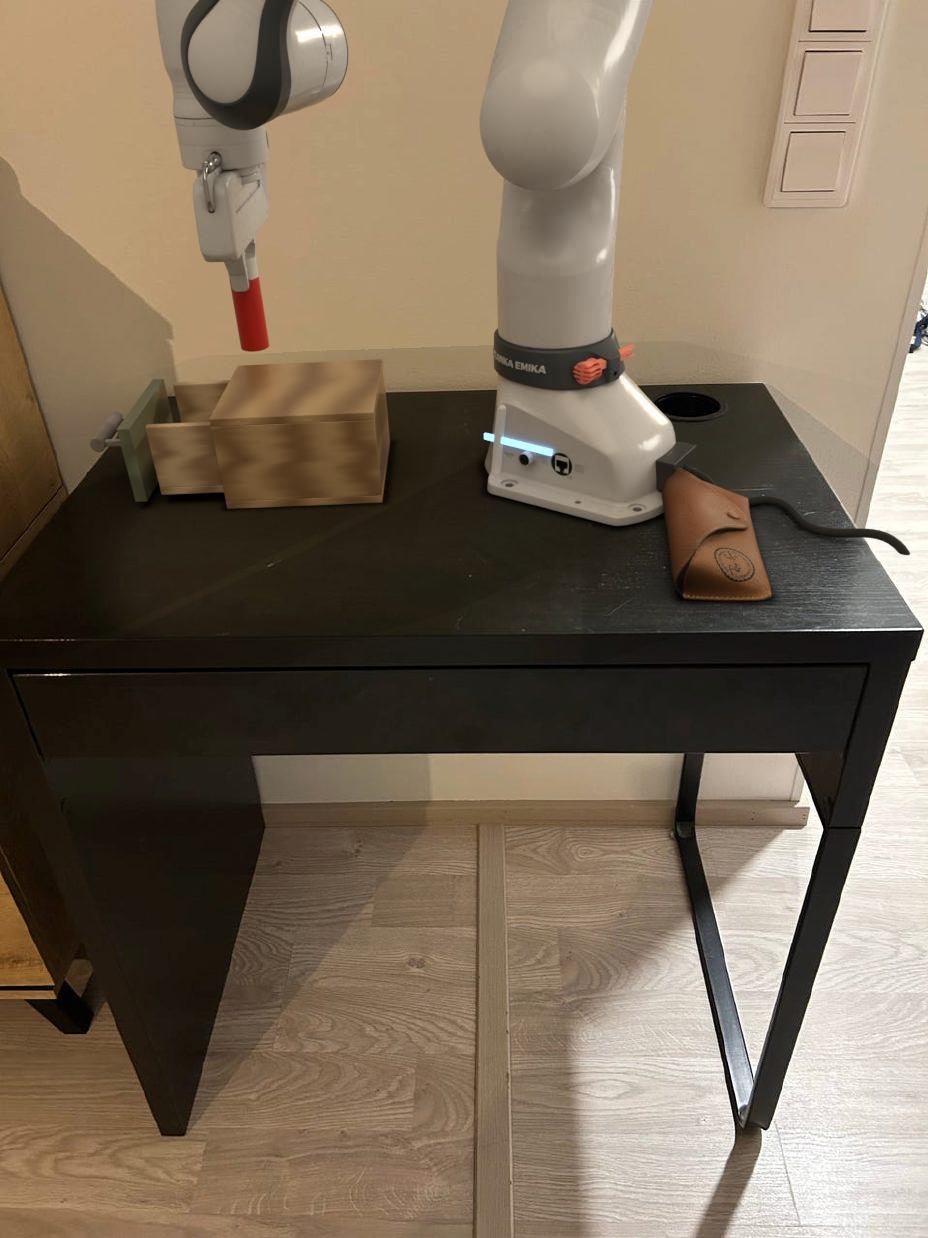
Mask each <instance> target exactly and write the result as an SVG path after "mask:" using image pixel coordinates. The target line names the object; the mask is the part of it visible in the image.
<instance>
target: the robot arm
mask: <svg viewBox="0 0 928 1238" xmlns="http://www.w3.org/2000/svg"><path fill="white" fill-rule="evenodd" d="M654 1H655V0H508V2H507V4H506V9H505V13H504V15H503V19H502V22H501V27H500V31H499V34H498V37H497V41H496V45H495V49H494V52H493V57H492V59H491V63H490V67H489V72H488V75H487V81H486V84H485V88H484V91H483V96H482V99H481V104H480V110H479V133H480V140H481V144H482V148H483V150H484V153H485V155H486V158H487V159H488V161H489V163H490V164H491V166H492V167H493V168H494V169H495V171H496V172H497V173H498V174H499V175H500V176H501V177H502V178H503V181H502V183H503V184H502V195H501V204H500V205H501V207H500V217H499V218H500V219H499V226H498V227H499V228H498V235H497V240H496V248H495V252H496V253H495V254H496V299H497V300H496V301H497V302H496V303H497V307H496V308H497V309H496V310H497V328H496V329H495V330H494V333H493V348H492V356H493V369H494V371H495V373H497V386H496V397H495V408H494V416H493V423H492V431H491V433H489V432H484V433H483V440H486V441H489V446H488V450H487V453H486V456H485V460H484V467H485V471H486V473H487V474H488V478H487V487H486V489H487V492H488V493H489V494H491V495H493V496H498V497H500V498H501V497H502V498H505V499H509V500H513V501H517V502H521V503H524V504H528V505H532V506H536V507H540V508H542V509H544V508H545V509H547V510H551V511H555V512H559V513H563V514H567V515H570V516H575V517H578V518H582V519H586V520H589V521H593V522H597V523H600V524H605V525H609V526H614V527H623V526H629V525H633V524H634V525H635V524H638V523H642V522H645V521H649V520H651V519H654V518H656V517H658V516H660V515H662V514H665V513H664V507H663V501H662V492H661V490H662V486H663V484H664V482H665V481H666V480H667V479H668V478H669V477H670V476H672V475H673V474H674V472H675V470H676V469H677V468H681V469H683V470H685V471H687V472H689V473H691V474H693V475H694V476H696V477H697V478H699V479H701V480H702V481H705V482H707V483H710V484H712V485H715V486H717V484H716V482H715V480H714V479H712V478H711V476H709V475H708V474H706V473H705V472H703V471H701V470H699V469H698V468H695V464H696V453H697V445H696V444H694V443H689V442H684V441H680V440H679V441H677V440H676V432H675V428H674V425H673V423H672V421H671V420H670V419H669V418H668V417H667V415H665V414H664V413H663V412H662V411H661V410H660V408H658V407H657V405H656V404H654V403H653V401H652V400H651V399H650V398H649V397H648V396H647V395H646V394H645V393H644V392H643V391H642V389H641V388H640V387H639V386H638V385H637V384H636V382H634V380H633V379H632V378H631V377H630V376H629V375H628V374H627V373H626V372H625V370H626V365H625V362H624V360H626V359H628V358H631V357H633V356H635V353H633V352H632V353H631V351H632V350H633V349H634V348H635V345H634V344H633V343H632V344H629V345H627V346H625V347H623V348H621V347H620V344H619V340H618V337H617V333H616V331H615V329H614V327H613V326H612V320H613V318H612V317H613V298H614V279H615V259H616V243H617V230H618V220H619V209H620V198H621V197H620V196H621V187H622V186H621V185H622V173H623V161H624V160H623V159H624V149H625V148H624V147H625V132H626V120H627V119H626V117H627V104H628V103H627V102H628V85H629V82H630V79H631V75H632V72H633V69H634V66H635V62H636V59H637V55H638V53H639V49H640V47H641V43H642V39H643V37H644V33H645V30H646V27H647V24H648V21H649V18H650V14H651V11H652V8H653V4H654ZM154 5H155V17H156V25H157V31H158V32H157V33H158V39H159V45H160V51H161V57H162V61H163V66H164V69H165V72H166V74H167V75H168V79H169V81H170V84H171V87H172V96H173V101H172V116H173V121H174V127H175V133H176V137H177V143H178V149H179V154H180V159H181V164H182V167H183V168H185V169H187V170H190V171H196V175H197V176H196V178H195V179H194V181H193V183H192V201H193V210H194V217H195V224H196V225H195V226H196V232H197V238H198V244H199V250H200V253H201V255H202V258H203V260H204V261H205V262H207V263H224V266H225V269H226V270H227V273H229V274H228V276H229V275H230V280H231V286H232V289H233V290H234V291H236V292H240V291H247V290H248V288H249V286H250V284H251V283H250V277H249V271H247V268H246V263H245V253H252V254H255V256H256V257H257V234H258V232H260V230H261V228H262V227H263V226H264V224H265V223H266V221H267V220H269V219H268V218H269V210H270V207H269V206H270V200H269V199H270V198H269V185H268V184H269V183H268V171H267V163H268V162H269V161H270V153H269V149H270V141H269V134H268V131H267V129H266V124H268V123H270V122H271V121H274V120H275V119H277V118H279V117H282V116H286V115H290V114H293V113H296V112H299V111H302V110H303V109H306V108H309V107H312V106H315V105H318V104H320V103H322V102H324V101H325V100H327V99H329V98H331V97H332V96H333V95H334V94H335V93H336V92H337V91H338V90H339V89H340V87H341V86H342V84H343V82H344V80H345V77H346V75H347V71H348V65H349V46H348V40H347V36H346V32H345V30H344V27H343V25H342V23H341V20H340V19H339V17H338V16H337V14H336V12H335V11H334V10H333V9H332V8H331V6H330V5H329V4H328V3H327V2H325V1H324V0H154ZM230 280H229V281H230ZM231 286H230V287H231ZM747 498H748V502H749V507H753V506H754V507H755V506H760V505H761V506H762V505H763V506H764V505H768V506H769V505H770V506H774V507H776V508H779V509H782V510H784V511H785V512H786V513H787V514H788V515H789V516H790V517H791V518H792V520H793V521H794V522H795V523H796V524H797V525H798V526H799V527H801V529H802V528H803V529H804V530H805V531H807V532H809V533H812V534H814V535H817V536H821V537H827V538H837V539H838V538H841V539H843V538H847V539H848V538H864V539H865V538H866V539H873V540H877V541H881V542H883V543H885V544H888V545H889V546H890V547H892V548H893V549H894V550H895V551H896V552H897V553H898V554H899V555H903V556H910V555H911V552H910V550H909V549H908V547H907V546H906V545H905V544H904V542H902V541H901V540H900V539H899V538H897V537H896V536H895V535H892V534H890V533H889V532H886V531H883V530H880V529H874V528H863V527H862V528H858V527H857V528H835V527H826V526H821V525H819V524H818V525H817V524H815V523H813V522H811V521H809V520H807V519H806V518H805V517H804V516H803V514H802V513H801V512H800V511H799V510H798V509H797V508H796V507H795V506H794V505H793V504H792V503H790V502H788V501H787V500H785V499H782V498H780V497H778V496H777V497H776V496H770V495H760V496H753V497H747Z"/></svg>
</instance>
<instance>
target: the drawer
mask: <svg viewBox="0 0 928 1238" xmlns="http://www.w3.org/2000/svg"><path fill="white" fill-rule="evenodd" d="M229 381H230V379H224V380H223V379H222V380H201V381H177V382H174V383H173V385H172V387H173V391H174V396H175V400H176V405H177V410H178V414H179V418H180V422H174V419H173V418H174V417H173V415H172V409H171V405H170V401H169V395H168V392H167V387H166V383H165V379H164V378H152V380H151V381H150V382H149V384H148V385H147V387H146V388H145V390H143V392H142V393H141V395H140V396H139V397H138V399H137V401H136V402H135V403H134V405H133V406H132V407H131V409H130V410H129V411H128V413H127V414H126V415H123V413H121V412H119V411H113V412H111V413H110V414H109V416H108V417H107V419H106V420H105V421H104V422H103V423H102V425H101V426H100V427H99V429H98V430H97V432H95V434H94V435H93V436H92V438H91V439H90V441H89V446H90V448H91V450H92V451H94V452H97V453H101V452H103V451H105V449H106V448H112V447H114V448H115V447H121V451H122V456H123V459H124V463H125V466H126V471H127V475H128V478H129V483H130V486H131V490H132V493H133V497H134V500H135V503H139V502H141V503H143V502H148V501H149V499H150V497H152V494H153V493H154V490H155V488H156V487H157V485H158V486H159V490H160V494H161V496H164V495H165V496H167V495H169V496H170V495H189V494H190V495H191V494H213V493H214V494H217V493H224V490H223V485H222V480H221V475H220V470H219V465H218V460H217V456H216V451H215V446H214V441H213V436H212V431H211V426H210V421H209V418H210V417H211V415H212V413H213V411H214V409H215V407H216V405H217V403H218V402H219V400H220V398H221V396H222V394H223V392H224V390H225V389H226V387H227V385H228V383H229ZM116 434H117V436H118V438H114V437H115V436H116Z"/></svg>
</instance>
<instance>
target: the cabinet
mask: <svg viewBox="0 0 928 1238" xmlns="http://www.w3.org/2000/svg"><path fill="white" fill-rule="evenodd" d="M384 369H385V368H384V361H383V359H381V358H379V359H361V360H360V359H358V360H336V361H335V360H334V361H333V360H332V361H312V362H311V361H310V362H290V363H289V362H288V363H287V362H286V363H265V364H263V363H262V364H241V365H237V366H236V368H235V370H234V372H233V373H232V376H231V377H230V379H229V380H230V381H229V383H228V385H227V387H226V389H225V390H224V392H223V394H222V396H221V398H220V400H219V402H218V403H217V405H216V407H215V409H214V411H213V413H212V415H211V417H210V418H209V421H210V426H211V431H212V436H213V441H214V446H215V451H216V456H217V460H218V465H219V470H220V475H221V480H222V485H223V490H224V492H223V494H224V499H225V505H226V509H227V510H234V509H236V510H237V509H254V508H255V509H258V508H259V509H260V508H283V507H305V506H307V507H309V506H310V507H311V506H332V505H357V504H358V505H359V504H379V503H380V504H381V503H383V501H384V499H383V498H384V493H385V492H384V491H385V485H386V484H385V483H386V477H387V476H386V475H387V468H388V463H389V461H388V460H389V454H390V447H391V446H390V445H391V437H390V435H391V434H390V427H389V425H390V424H389V415H388V414H389V413H388V405H387V404H388V403H387V394H386V393H387V391H386V381H385V371H384Z"/></svg>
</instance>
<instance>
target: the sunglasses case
mask: <svg viewBox="0 0 928 1238" xmlns="http://www.w3.org/2000/svg"><path fill="white" fill-rule="evenodd" d="M661 492H662V501H663V507H664V513H663V514H664V521H665V526H666V527H665V528H666V534H667V543H668V552H669V559H670V566H671V576H672V582H673V586H674V588H675V590H676V591H677V592H678V593H679V595H680V596H681V597H682V599H685V600H689V601H704V602H713V603H716V602H717V603H719V602H721V603H724V602H725V603H738V602H757V601H758V602H759V601H760V602H761V601H765V600H768V599H770V598H772V588H771V583H770V580H769V577H768V575H767V571H766V568H765V564H764V561H763V558H762V555H761V551H760V547H759V545H758V541H757V537H756V532H755V529H754V525H753V521H752V517H751V516H752V515H751V510H750V506H749V502H748V498H749V497H746V496H744V495H742V494H739V493H736V492H733V491H731V490H728V489H724V488H723V487H720V486H718V485H716V486H715V485H712V484H710V483H707V482H705V481H702V480H701V479H699V478H697V477H696V476H694V475H693V474H691V473H689V472H687V471H685V470H683V469H681V468H677V469H676V470H675V472H674V474H673V475H672V476H670V477H669V478H668V479H667V480H666V481H665V482H664V484H663V486H662V490H661Z"/></svg>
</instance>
